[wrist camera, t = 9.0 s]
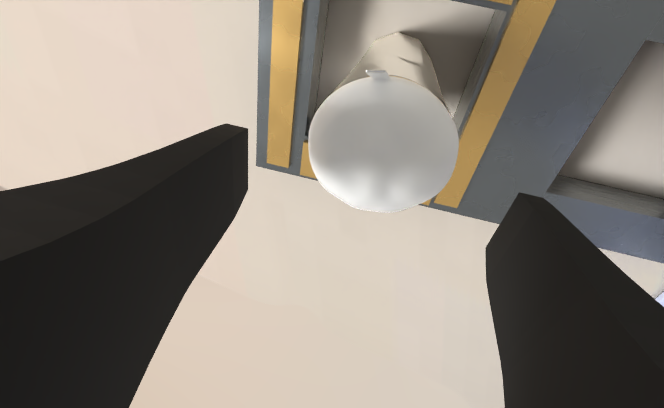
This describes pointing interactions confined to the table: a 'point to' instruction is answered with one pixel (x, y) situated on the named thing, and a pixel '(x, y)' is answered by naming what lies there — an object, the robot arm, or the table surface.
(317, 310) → the table surface
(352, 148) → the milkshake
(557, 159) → the grey slotted plate
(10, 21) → the table surface
